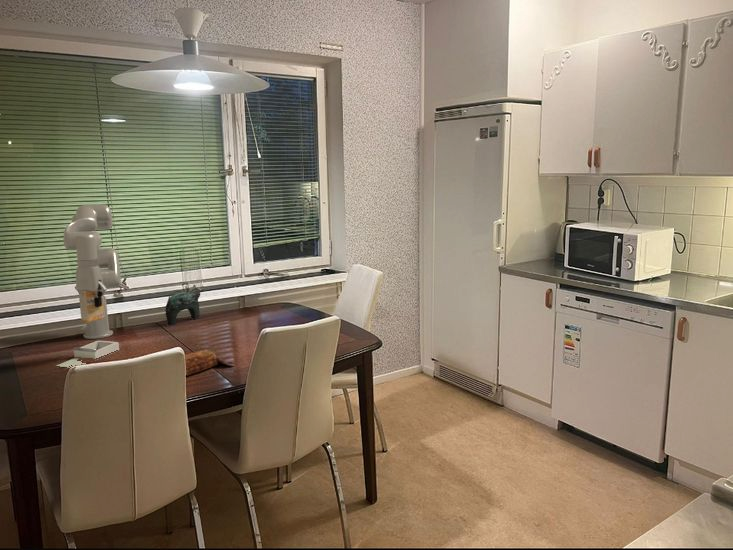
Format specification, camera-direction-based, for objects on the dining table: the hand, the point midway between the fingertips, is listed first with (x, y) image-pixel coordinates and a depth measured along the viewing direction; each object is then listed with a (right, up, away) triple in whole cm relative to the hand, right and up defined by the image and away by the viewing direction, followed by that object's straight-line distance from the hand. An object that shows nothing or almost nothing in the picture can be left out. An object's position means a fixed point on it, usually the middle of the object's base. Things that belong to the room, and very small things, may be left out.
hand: (92, 305), depth 234 cm
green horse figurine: (+21, -11, +55) cm, 60 cm away
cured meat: (+50, -24, -16) cm, 58 cm away
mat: (-2, -23, -9) cm, 25 cm away
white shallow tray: (0, -21, +4) cm, 21 cm away
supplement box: (0, -6, +1) cm, 6 cm away
